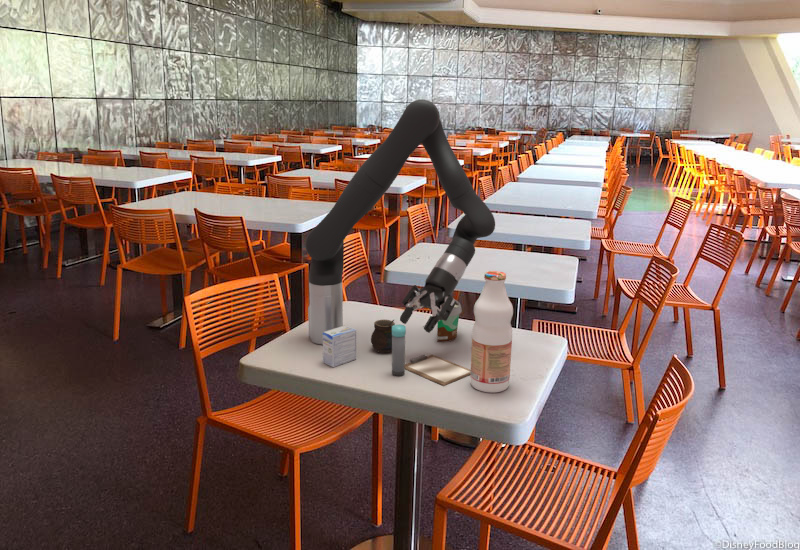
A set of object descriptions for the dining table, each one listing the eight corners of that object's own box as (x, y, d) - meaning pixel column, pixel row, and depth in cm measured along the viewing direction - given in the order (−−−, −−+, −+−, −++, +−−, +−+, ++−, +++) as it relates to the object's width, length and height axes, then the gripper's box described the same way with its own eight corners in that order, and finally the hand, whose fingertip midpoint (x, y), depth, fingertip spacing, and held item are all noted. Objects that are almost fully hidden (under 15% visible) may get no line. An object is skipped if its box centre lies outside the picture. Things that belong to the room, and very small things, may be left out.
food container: (458, 345, 179) (459, 311, 176) (436, 343, 180) (437, 309, 178) (462, 330, 191) (464, 298, 188) (442, 328, 192) (443, 297, 189)
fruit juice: (463, 387, 153) (467, 274, 145) (480, 373, 161) (485, 266, 153) (499, 397, 148) (505, 281, 141) (515, 382, 156) (522, 272, 148)
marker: (388, 373, 160) (388, 326, 157) (398, 369, 162) (399, 323, 159) (397, 377, 158) (398, 330, 154) (407, 374, 160) (408, 327, 157)
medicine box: (346, 355, 171) (345, 324, 169) (356, 359, 168) (356, 329, 166) (322, 363, 166) (322, 331, 164) (333, 368, 163) (332, 336, 161)
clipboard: (400, 367, 164) (400, 362, 164) (432, 355, 171) (432, 351, 171) (443, 386, 153) (443, 381, 153) (474, 373, 161) (474, 368, 161)
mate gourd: (382, 343, 180) (383, 309, 177) (403, 350, 175) (404, 315, 173) (365, 350, 175) (365, 315, 172) (386, 357, 170) (387, 322, 167)
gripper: (419, 261, 168) (387, 312, 163) (460, 271, 158) (427, 326, 153) (433, 277, 173) (402, 326, 168) (473, 288, 163) (441, 341, 158)
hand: (414, 326), depth 160 cm, fingers open, 8 cm apart
